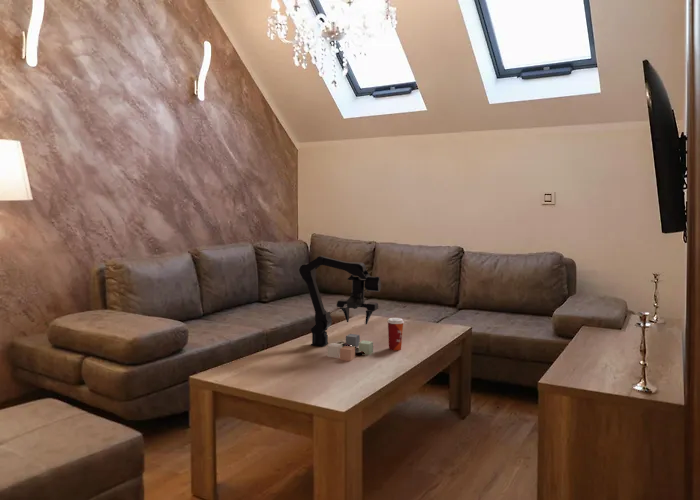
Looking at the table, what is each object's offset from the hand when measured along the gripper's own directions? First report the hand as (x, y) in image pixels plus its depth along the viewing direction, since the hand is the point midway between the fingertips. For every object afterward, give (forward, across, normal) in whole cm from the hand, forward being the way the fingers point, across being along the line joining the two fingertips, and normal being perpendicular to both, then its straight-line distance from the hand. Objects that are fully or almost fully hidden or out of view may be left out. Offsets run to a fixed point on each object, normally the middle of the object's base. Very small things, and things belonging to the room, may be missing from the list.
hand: (356, 323), depth 263 cm
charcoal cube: (+12, -3, +3) cm, 13 cm away
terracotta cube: (+12, +3, -18) cm, 22 cm away
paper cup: (+12, +17, +6) cm, 22 cm away
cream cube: (+12, -4, -16) cm, 20 cm away
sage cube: (+12, +7, -6) cm, 15 cm away
